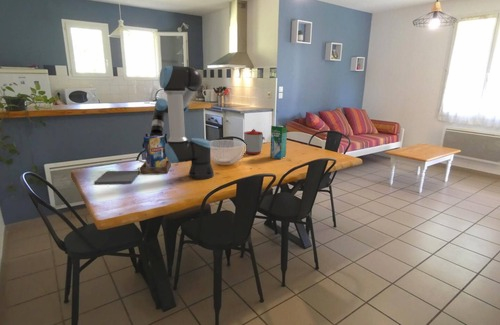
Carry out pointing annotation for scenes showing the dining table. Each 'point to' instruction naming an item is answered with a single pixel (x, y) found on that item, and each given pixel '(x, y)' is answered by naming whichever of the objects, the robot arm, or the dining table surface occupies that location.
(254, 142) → the citrus juicer
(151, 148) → the beverage box
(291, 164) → the dining table surface
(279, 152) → the milk carton
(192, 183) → the dining table surface
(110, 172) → the charcoal mat
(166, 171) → the walnut holder
